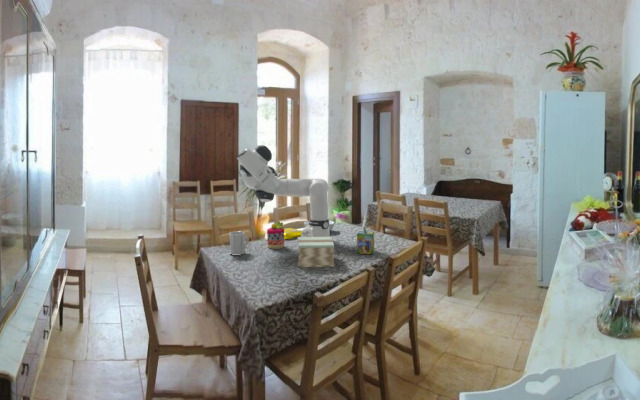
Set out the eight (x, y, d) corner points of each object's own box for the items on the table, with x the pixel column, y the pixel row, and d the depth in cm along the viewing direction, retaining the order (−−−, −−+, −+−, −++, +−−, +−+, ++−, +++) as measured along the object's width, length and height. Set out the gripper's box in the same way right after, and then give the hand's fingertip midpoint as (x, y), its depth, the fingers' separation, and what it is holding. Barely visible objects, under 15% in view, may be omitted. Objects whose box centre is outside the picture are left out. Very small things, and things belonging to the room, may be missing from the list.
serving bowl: (337, 234, 314) (337, 224, 313) (306, 235, 311) (306, 225, 310) (331, 228, 335) (331, 219, 334) (302, 229, 331) (302, 220, 330)
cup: (234, 251, 270) (233, 230, 268) (249, 251, 268) (248, 231, 266) (227, 255, 260) (226, 234, 258) (242, 256, 258) (242, 235, 256)
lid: (298, 247, 234) (298, 245, 234) (298, 239, 254) (298, 236, 254) (334, 247, 235) (334, 244, 235) (331, 238, 255) (331, 236, 255)
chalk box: (373, 254, 259) (373, 228, 257) (356, 254, 261) (356, 228, 259) (374, 250, 268) (374, 225, 266) (358, 250, 270) (358, 225, 268)
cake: (278, 249, 272) (277, 224, 270) (263, 247, 277) (263, 223, 275) (288, 246, 281) (287, 221, 279) (273, 244, 286) (273, 220, 284)
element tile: (290, 233, 318) (290, 226, 318) (304, 237, 307) (304, 230, 306) (272, 236, 309) (272, 229, 308) (285, 240, 297) (285, 233, 297)
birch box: (298, 267, 235) (298, 248, 234) (298, 257, 255) (298, 239, 254) (334, 266, 236) (334, 247, 235) (331, 256, 256) (331, 239, 255)
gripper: (261, 177, 248) (280, 195, 250) (257, 181, 228) (277, 201, 230) (270, 168, 248) (288, 187, 249) (266, 172, 227) (286, 192, 229)
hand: (283, 193), depth 239 cm, fingers closed
